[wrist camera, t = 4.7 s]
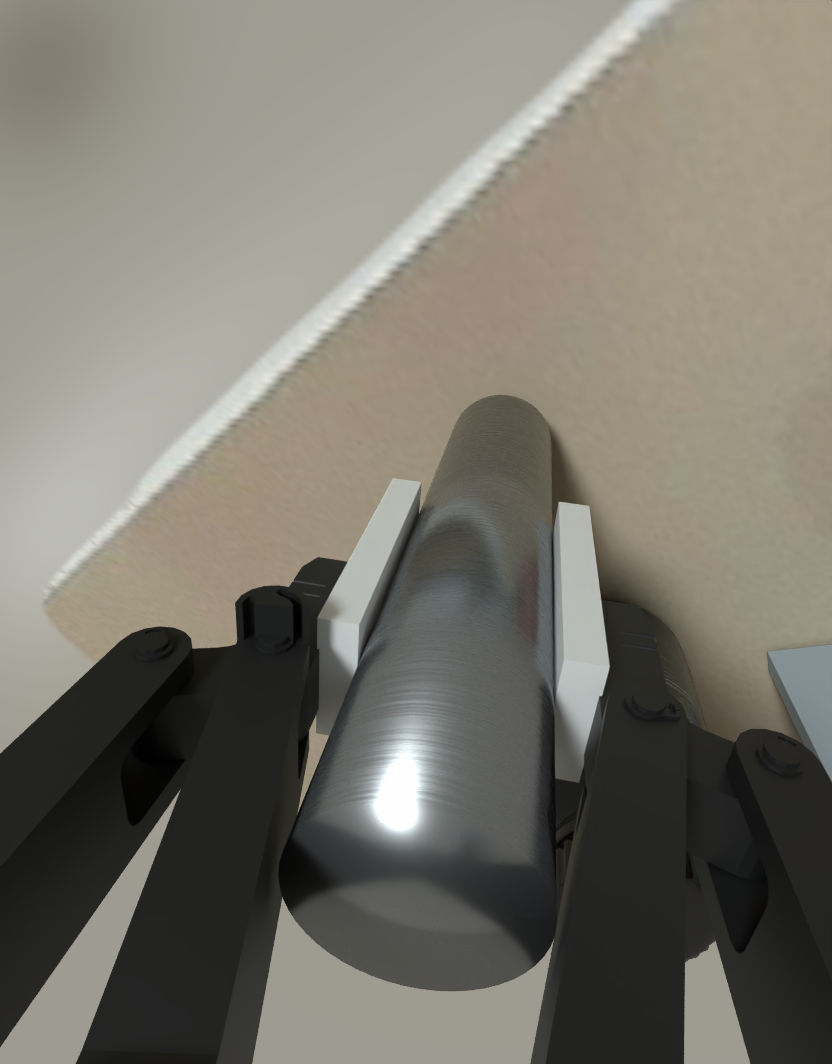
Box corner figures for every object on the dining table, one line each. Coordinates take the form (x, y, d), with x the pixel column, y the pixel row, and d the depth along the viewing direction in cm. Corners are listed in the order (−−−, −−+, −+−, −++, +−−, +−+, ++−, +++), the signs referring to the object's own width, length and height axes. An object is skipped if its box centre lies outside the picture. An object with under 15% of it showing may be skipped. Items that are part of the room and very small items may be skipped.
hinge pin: (559, 401, 23) (582, 838, 8) (542, 495, 25) (532, 1015, 9) (457, 389, 24) (276, 776, 8) (447, 482, 25) (280, 957, 10)
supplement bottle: (496, 624, 30) (472, 864, 19) (649, 572, 27) (716, 812, 17) (559, 735, 32) (567, 1003, 21) (704, 695, 30) (795, 975, 19)
